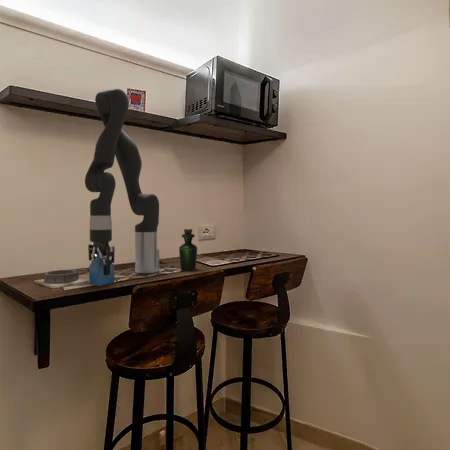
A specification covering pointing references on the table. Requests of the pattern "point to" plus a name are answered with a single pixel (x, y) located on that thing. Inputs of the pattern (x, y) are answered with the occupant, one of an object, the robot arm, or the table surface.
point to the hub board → (81, 281)
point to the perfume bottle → (100, 272)
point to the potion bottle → (188, 252)
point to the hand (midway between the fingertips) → (101, 273)
